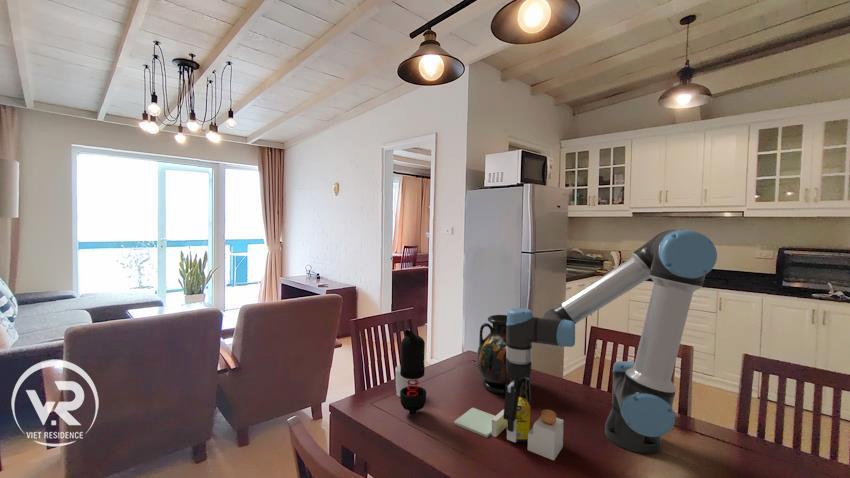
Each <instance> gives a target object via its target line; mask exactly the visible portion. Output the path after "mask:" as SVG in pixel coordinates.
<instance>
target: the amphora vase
mask: <svg viewBox="0 0 850 478" xmlns="http://www.w3.org/2000/svg"><path fill="white" fill-rule="evenodd" d="M487 321H488V322H489V323H487V322H484V323H482V325H481V326H480V328H479V341H478V342H479V343H478V349H477V351H476V357H475V365H476V367H477V371H478V372H479V374H480V376H481V377H482V379H481V385H482V386H483V388H484V389H486V390H487V391H490V392H492V393H493V394H498V395H505V393H506V392H505V385H506V384H507V385H509V383H510V378H511V376H510V374H508V373H507V372H506V360H507V358H506V349H505V347H506V346H507V345H506V343H507V342H506V323H507V314H495V315H493V314H492V315H490V316H488V317H487ZM491 324H492V325H491ZM485 327H488V328H489V331H490V332H489V333H488V334H487V335H486V336H485V338H483V332H484V328H485ZM515 393H518V392H515Z"/></svg>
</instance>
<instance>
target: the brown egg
mask: <svg viewBox="0 0 850 478" xmlns="http://www.w3.org/2000/svg"><path fill="white" fill-rule="evenodd" d="M540 416H541V419H542V421H544V422H546V424H549V425H551V424H553V423H555V422H556V418H557V413H556V412H555V411H554V410H551V409H543V410H541V415H540Z"/></svg>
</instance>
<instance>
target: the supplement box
mask: <svg viewBox="0 0 850 478" xmlns="http://www.w3.org/2000/svg"><path fill="white" fill-rule="evenodd" d="M529 404H530V403H528V401H527V400H526V398H523V397H519V400H518V406H517V412H516V418H515V419H516V420H517V437H516V443H517V442H520V443H523V442H525V443H528V432H529V431H530V430H531V429H530V428H531V427H530V425H531V408H530V405H529ZM505 431H506V433H507V420H506V428H505Z"/></svg>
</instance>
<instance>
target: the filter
mask: <svg viewBox="0 0 850 478" xmlns="http://www.w3.org/2000/svg"><path fill="white" fill-rule="evenodd" d="M413 332H414V330H410V329H406V330H405V331H404V335H405V336H404V337H403V338H402V340H401V342H400V343H401V344H400V364H399V365H400V368H401V369H400V370H401V371H400V375H401V376H402V377H404V378H406V379H415V380H409V381H407V383H408V387H405V388H403V389H402V390H401V391H400V397H399V399H400V405H401V406H402V408H403V409H404V410H406V411H407V412H408V413H409V415H411V416H414V415H416V414H417V412H418V411H420V410H422V409H423V408H424V406H425V404H426V401H427V390H426V388H423V387H422V386H418V384H419V379H421V378H423V377H424V376H425V355H426V354H425V351H426V350H425V349H426V348H425V346H426V344H425V340H424V338H423V337H421V336H420V335H417V334H415V333H413ZM410 381H415V384H411V383H409V382H410ZM409 385H410V386H409Z"/></svg>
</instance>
